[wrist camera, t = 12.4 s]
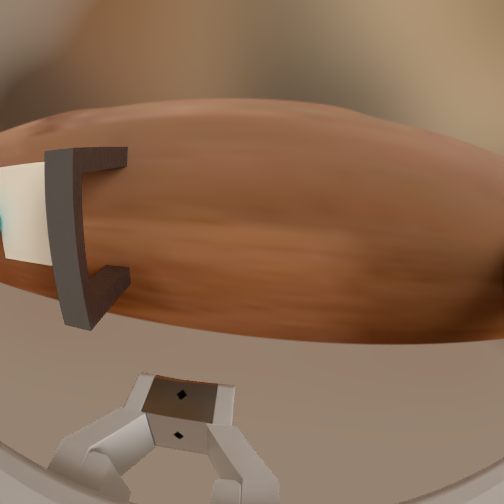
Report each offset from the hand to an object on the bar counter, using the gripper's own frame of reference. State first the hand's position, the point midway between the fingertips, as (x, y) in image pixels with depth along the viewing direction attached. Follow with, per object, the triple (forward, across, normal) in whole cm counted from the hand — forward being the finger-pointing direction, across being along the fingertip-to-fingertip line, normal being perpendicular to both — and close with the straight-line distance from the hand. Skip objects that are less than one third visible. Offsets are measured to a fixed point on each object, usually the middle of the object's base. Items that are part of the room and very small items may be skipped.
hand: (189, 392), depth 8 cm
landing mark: (+21, +27, 0) cm, 34 cm away
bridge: (+21, +13, 0) cm, 25 cm away
